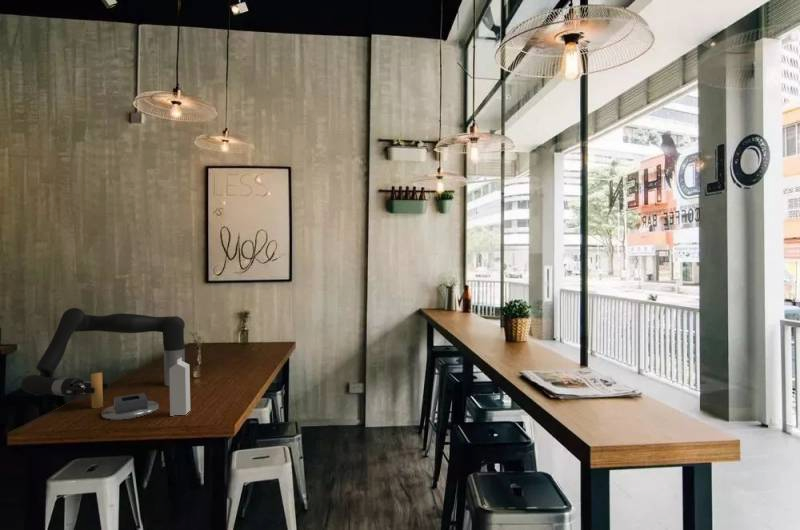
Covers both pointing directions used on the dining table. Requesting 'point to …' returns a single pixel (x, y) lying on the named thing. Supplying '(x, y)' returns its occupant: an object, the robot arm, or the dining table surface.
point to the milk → (179, 388)
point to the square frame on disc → (130, 407)
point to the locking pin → (97, 390)
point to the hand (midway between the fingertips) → (101, 388)
